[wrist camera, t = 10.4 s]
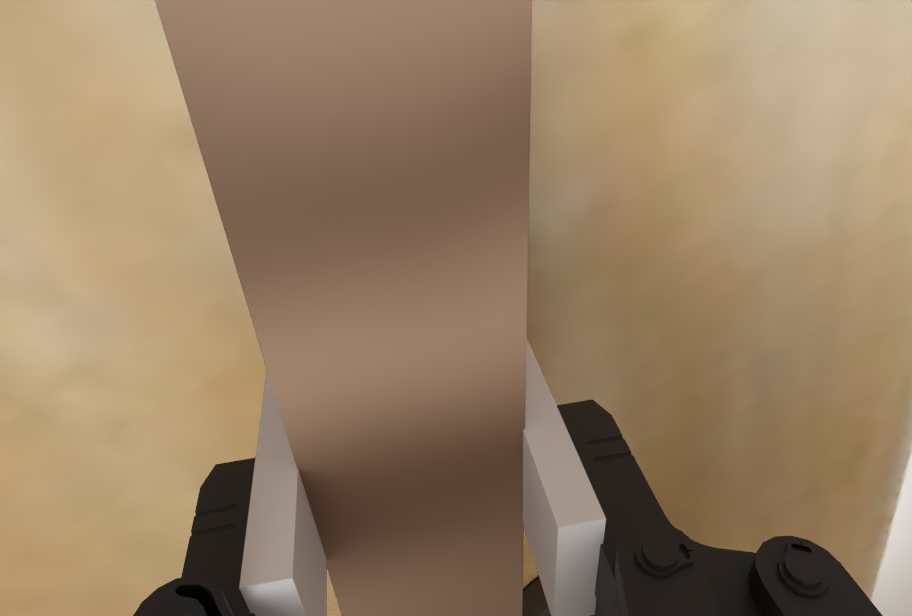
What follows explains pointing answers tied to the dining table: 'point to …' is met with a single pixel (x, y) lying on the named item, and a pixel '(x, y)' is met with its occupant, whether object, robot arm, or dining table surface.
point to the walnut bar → (382, 271)
